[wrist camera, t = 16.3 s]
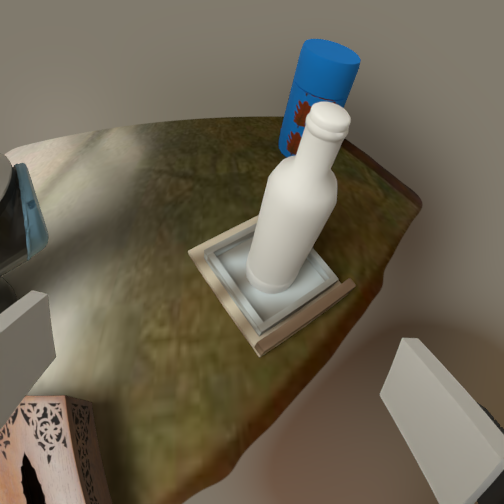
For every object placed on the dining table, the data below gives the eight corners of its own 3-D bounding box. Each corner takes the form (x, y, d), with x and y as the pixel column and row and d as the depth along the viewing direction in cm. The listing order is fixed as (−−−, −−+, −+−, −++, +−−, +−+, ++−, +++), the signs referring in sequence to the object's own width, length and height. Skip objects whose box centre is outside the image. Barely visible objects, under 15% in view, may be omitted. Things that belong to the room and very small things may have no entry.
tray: (188, 253, 52) (187, 240, 49) (275, 209, 59) (279, 195, 56) (259, 357, 45) (264, 351, 42) (346, 295, 52) (356, 285, 49)
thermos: (332, 163, 68) (372, 68, 46) (287, 167, 65) (319, 62, 44) (312, 132, 73) (343, 41, 51) (271, 134, 70) (293, 36, 49)
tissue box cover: (131, 558, 26) (115, 585, 18) (48, 550, 23) (19, 568, 15) (92, 402, 38) (64, 395, 30) (14, 402, 35) (-23, 393, 27)
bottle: (235, 260, 51) (268, 92, 25) (278, 242, 54) (336, 84, 28) (260, 303, 48) (325, 150, 22) (304, 282, 51) (392, 134, 25)
